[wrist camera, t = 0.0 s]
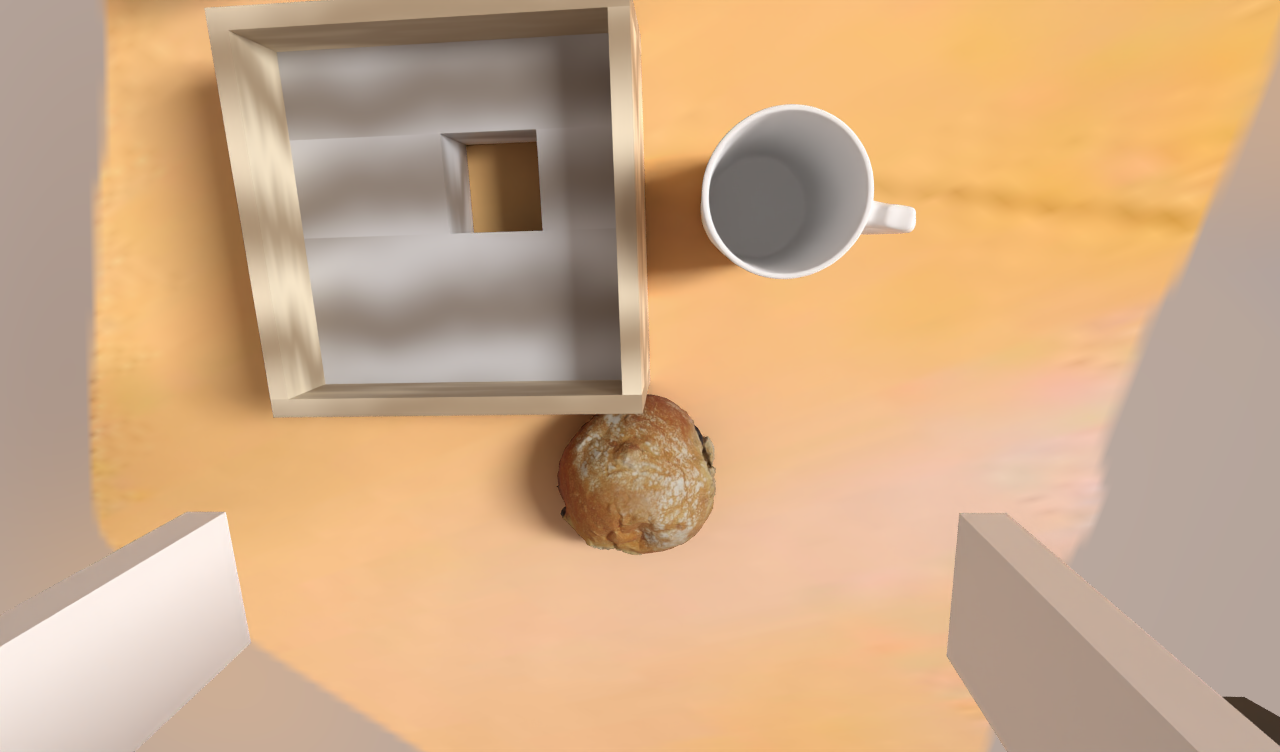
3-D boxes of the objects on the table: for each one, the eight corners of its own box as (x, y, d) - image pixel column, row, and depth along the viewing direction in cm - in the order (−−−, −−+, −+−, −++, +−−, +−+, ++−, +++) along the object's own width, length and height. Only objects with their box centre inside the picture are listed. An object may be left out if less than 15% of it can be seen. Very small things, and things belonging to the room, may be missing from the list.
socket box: (301, 54, 36) (204, 7, 29) (640, 35, 34) (628, -20, 27) (347, 384, 40) (273, 417, 33) (650, 380, 39) (642, 413, 32)
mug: (685, 254, 37) (686, 262, 25) (709, 138, 35) (721, 89, 24) (850, 286, 37) (927, 308, 25) (881, 170, 35) (978, 137, 23)
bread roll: (717, 481, 44) (773, 499, 36) (605, 576, 41) (639, 617, 34) (640, 369, 43) (680, 363, 35) (518, 460, 40) (534, 475, 32)
